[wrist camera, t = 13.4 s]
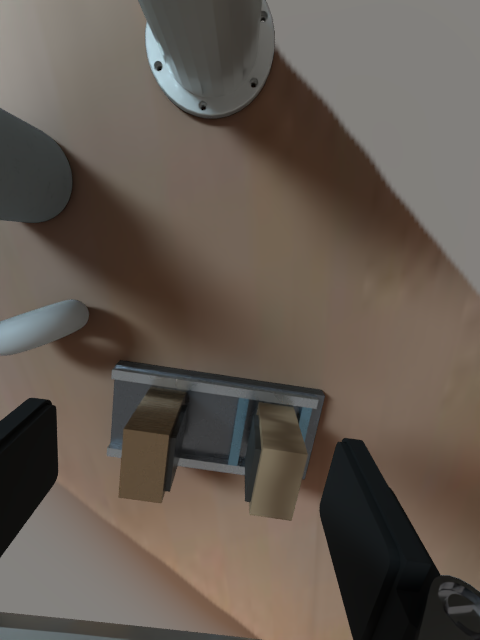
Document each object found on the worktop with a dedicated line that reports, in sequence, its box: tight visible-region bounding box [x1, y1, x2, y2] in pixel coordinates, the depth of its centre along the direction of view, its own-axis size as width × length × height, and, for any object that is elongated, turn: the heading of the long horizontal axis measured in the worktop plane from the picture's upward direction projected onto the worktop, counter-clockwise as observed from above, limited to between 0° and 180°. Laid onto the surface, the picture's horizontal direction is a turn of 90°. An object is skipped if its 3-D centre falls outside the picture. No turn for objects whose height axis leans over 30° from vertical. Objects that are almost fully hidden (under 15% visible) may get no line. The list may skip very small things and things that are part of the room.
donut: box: [0, 299, 89, 355], centre depth 33 cm, size 10×4×10 cm, turn 107°
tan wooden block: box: [245, 402, 308, 521], centre depth 36 cm, size 5×8×9 cm, turn 171°
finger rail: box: [107, 360, 325, 503], centre depth 36 cm, size 12×26×11 cm, turn 81°
